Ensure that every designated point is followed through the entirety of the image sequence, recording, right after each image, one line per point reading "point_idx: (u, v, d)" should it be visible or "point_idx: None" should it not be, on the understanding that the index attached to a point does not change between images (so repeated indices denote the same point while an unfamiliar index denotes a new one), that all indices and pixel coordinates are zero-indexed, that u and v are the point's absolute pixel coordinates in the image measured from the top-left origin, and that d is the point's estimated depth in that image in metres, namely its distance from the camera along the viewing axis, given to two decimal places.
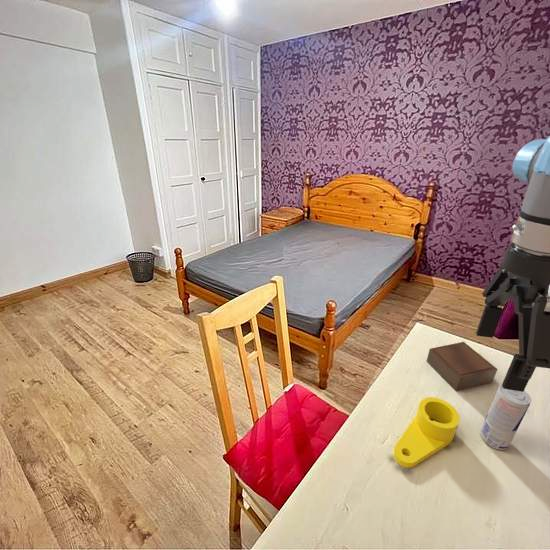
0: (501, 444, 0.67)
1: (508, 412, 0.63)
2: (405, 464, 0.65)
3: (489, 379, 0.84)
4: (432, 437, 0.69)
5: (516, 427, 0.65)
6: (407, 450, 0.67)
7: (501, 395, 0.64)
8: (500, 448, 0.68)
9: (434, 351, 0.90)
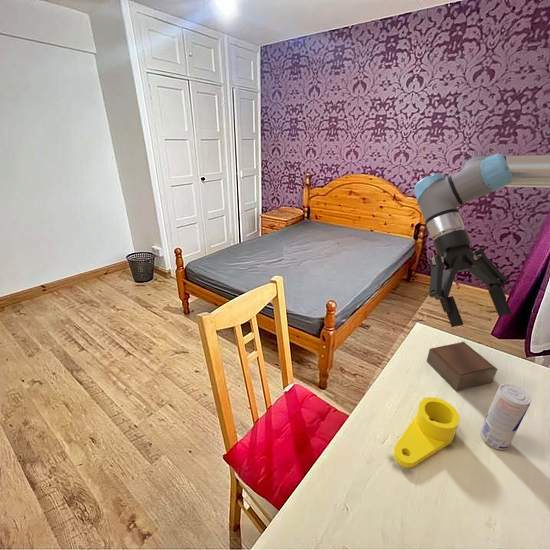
0: (501, 444, 0.67)
1: (508, 412, 0.63)
2: (405, 464, 0.65)
3: (489, 379, 0.84)
4: (432, 437, 0.69)
5: (516, 427, 0.65)
6: (407, 450, 0.67)
7: (501, 395, 0.64)
8: (500, 448, 0.68)
9: (434, 351, 0.90)
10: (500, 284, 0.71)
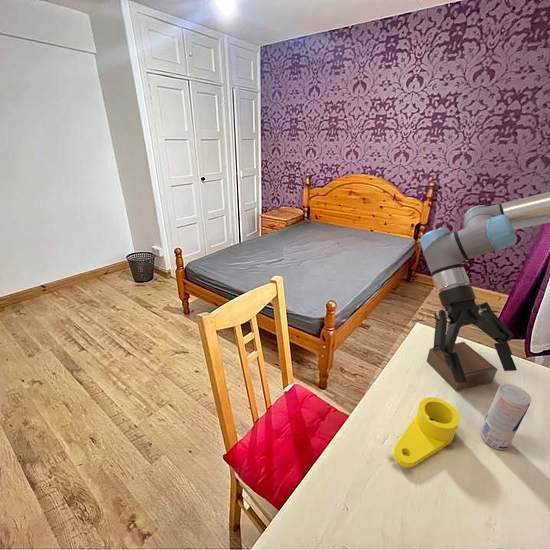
0: (501, 444, 0.67)
1: (508, 412, 0.63)
2: (405, 464, 0.65)
3: (489, 379, 0.84)
4: (432, 437, 0.69)
5: (516, 427, 0.65)
6: (407, 450, 0.67)
7: (501, 395, 0.64)
8: (500, 448, 0.68)
9: None
10: (505, 339, 0.72)
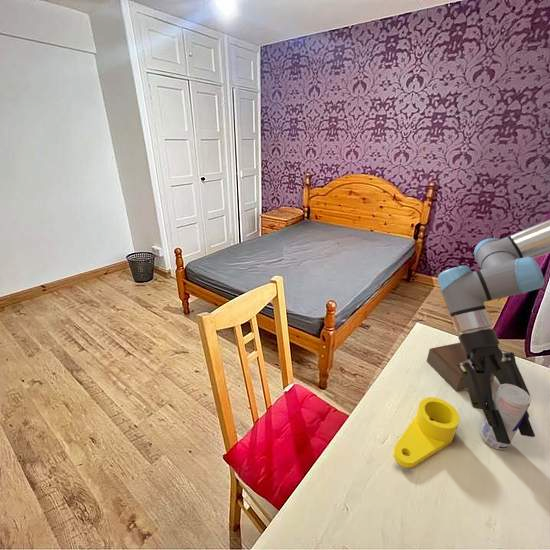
0: (501, 444, 0.67)
1: (508, 412, 0.63)
2: (405, 464, 0.65)
3: None
4: (432, 437, 0.69)
5: (516, 427, 0.65)
6: (407, 450, 0.67)
7: (501, 395, 0.64)
8: (500, 448, 0.68)
9: (434, 351, 0.90)
10: None
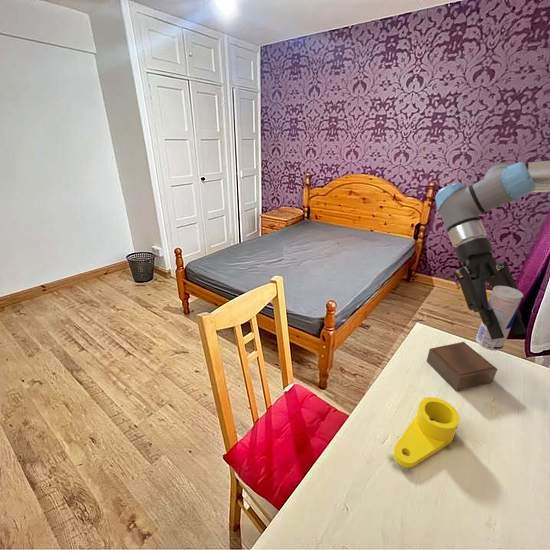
0: (495, 344, 0.71)
1: (502, 308, 0.67)
2: (405, 464, 0.65)
3: (489, 379, 0.84)
4: (432, 437, 0.69)
5: (509, 324, 0.69)
6: (407, 450, 0.67)
7: (495, 293, 0.68)
8: (494, 348, 0.72)
9: (434, 351, 0.90)
10: None
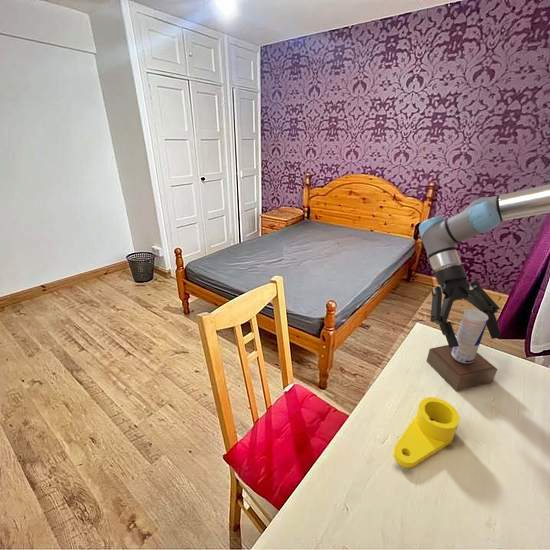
0: (467, 358, 0.84)
1: (471, 328, 0.80)
2: (405, 464, 0.65)
3: (489, 379, 0.84)
4: (432, 437, 0.69)
5: (477, 342, 0.81)
6: (407, 450, 0.67)
7: (465, 316, 0.81)
8: (466, 362, 0.84)
9: (434, 351, 0.90)
10: (492, 311, 0.84)
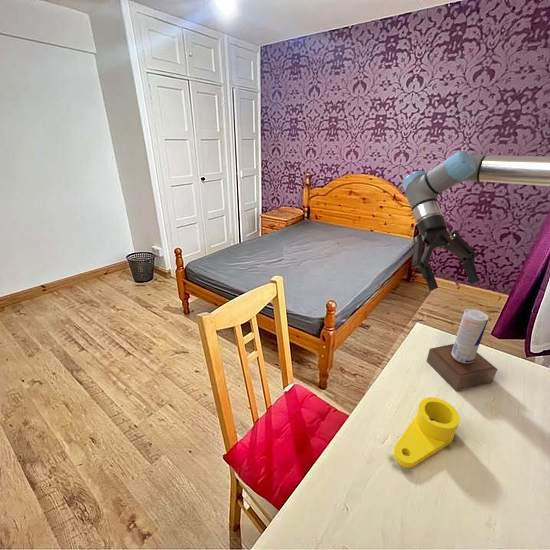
0: (467, 358, 0.84)
1: (471, 328, 0.80)
2: (405, 464, 0.65)
3: (489, 379, 0.84)
4: (432, 437, 0.69)
5: (477, 342, 0.81)
6: (407, 450, 0.67)
7: (465, 316, 0.81)
8: (466, 362, 0.84)
9: (434, 351, 0.90)
10: (471, 258, 0.89)
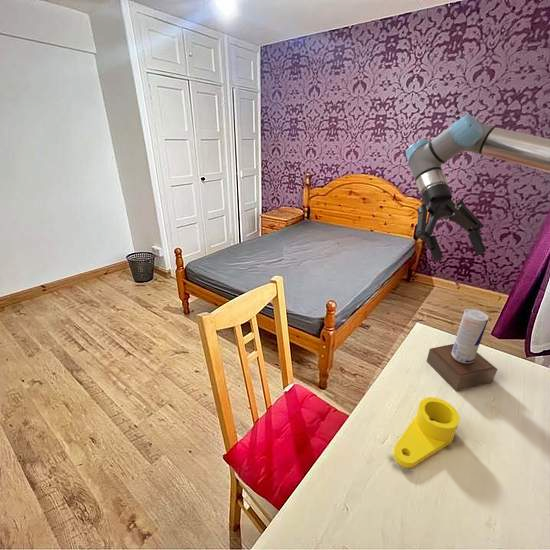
0: (467, 358, 0.84)
1: (471, 328, 0.80)
2: (405, 464, 0.65)
3: (489, 379, 0.84)
4: (432, 437, 0.69)
5: (477, 342, 0.81)
6: (407, 450, 0.67)
7: (465, 316, 0.81)
8: (466, 362, 0.84)
9: (434, 351, 0.90)
10: (477, 228, 0.85)
